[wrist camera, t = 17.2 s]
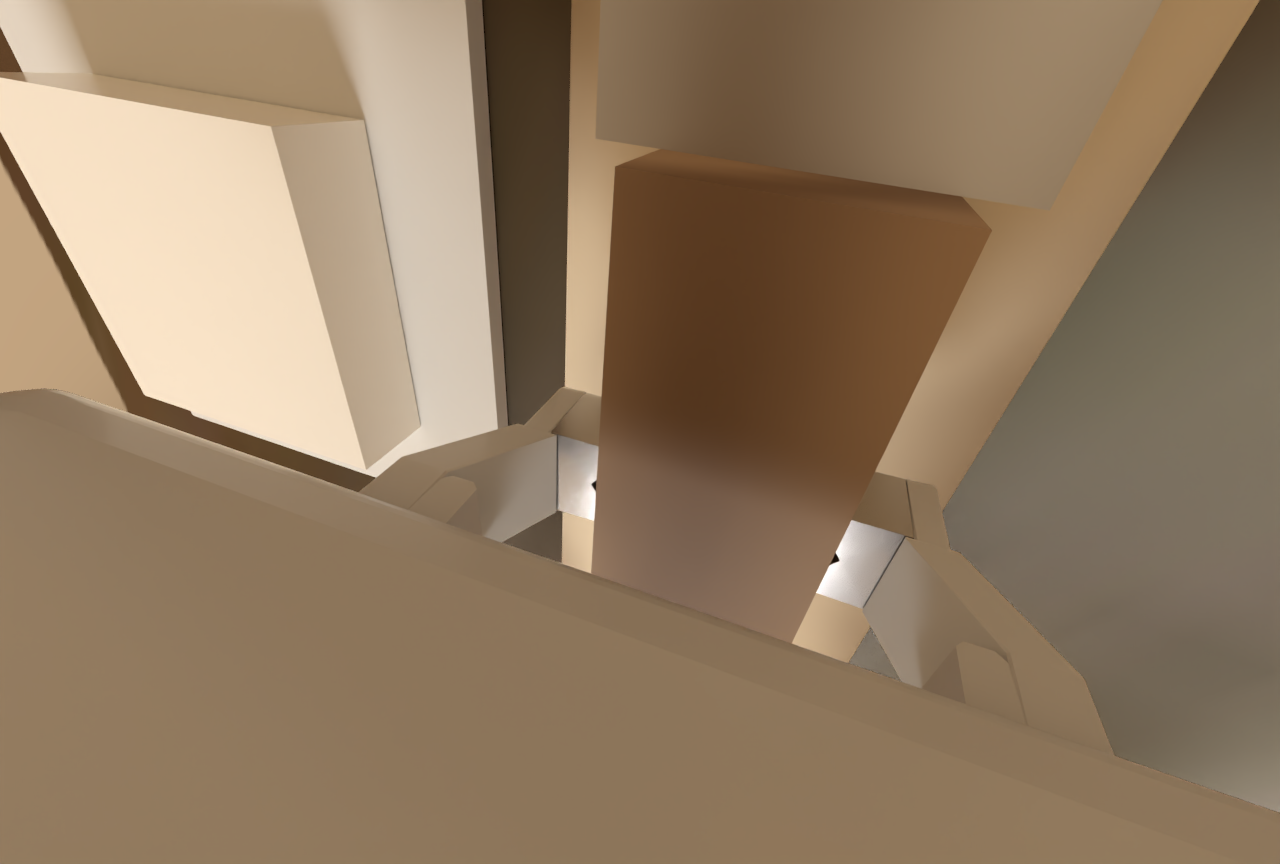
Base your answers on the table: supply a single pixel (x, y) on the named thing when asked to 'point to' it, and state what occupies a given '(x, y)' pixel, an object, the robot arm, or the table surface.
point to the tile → (226, 253)
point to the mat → (397, 136)
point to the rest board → (994, 294)
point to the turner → (804, 256)
